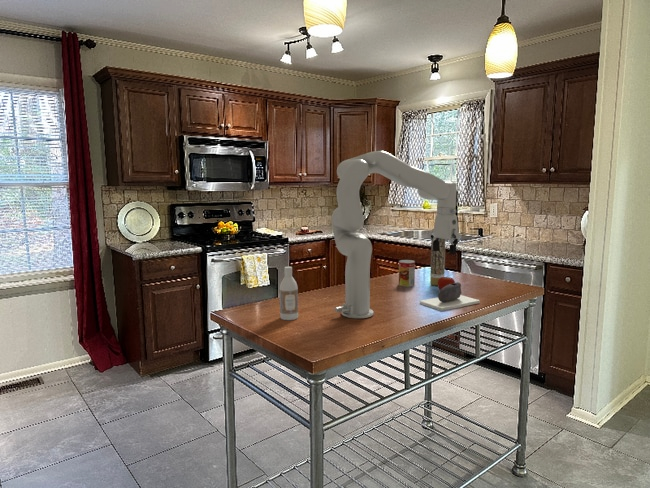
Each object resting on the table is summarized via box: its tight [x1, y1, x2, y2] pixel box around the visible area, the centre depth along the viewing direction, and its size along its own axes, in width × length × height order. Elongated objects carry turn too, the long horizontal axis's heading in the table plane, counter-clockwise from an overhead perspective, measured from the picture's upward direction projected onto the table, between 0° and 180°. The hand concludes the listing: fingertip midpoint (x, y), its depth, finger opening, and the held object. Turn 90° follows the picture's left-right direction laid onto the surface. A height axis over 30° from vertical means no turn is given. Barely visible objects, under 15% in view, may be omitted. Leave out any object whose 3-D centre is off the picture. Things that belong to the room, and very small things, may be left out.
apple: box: [437, 276, 456, 291], centre depth 212 cm, size 8×8×8 cm
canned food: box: [398, 259, 416, 288], centre depth 228 cm, size 8×8×12 cm
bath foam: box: [279, 266, 299, 321], centre depth 175 cm, size 7×7×20 cm
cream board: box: [419, 294, 481, 312], centre depth 195 cm, size 22×13×1 cm, turn 121°
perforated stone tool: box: [437, 281, 462, 302], centre depth 194 cm, size 15×5×7 cm, turn 129°
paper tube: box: [429, 237, 446, 287], centre depth 227 cm, size 7×7×25 cm
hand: (444, 252), depth 193 cm, fingers open, 9 cm apart
